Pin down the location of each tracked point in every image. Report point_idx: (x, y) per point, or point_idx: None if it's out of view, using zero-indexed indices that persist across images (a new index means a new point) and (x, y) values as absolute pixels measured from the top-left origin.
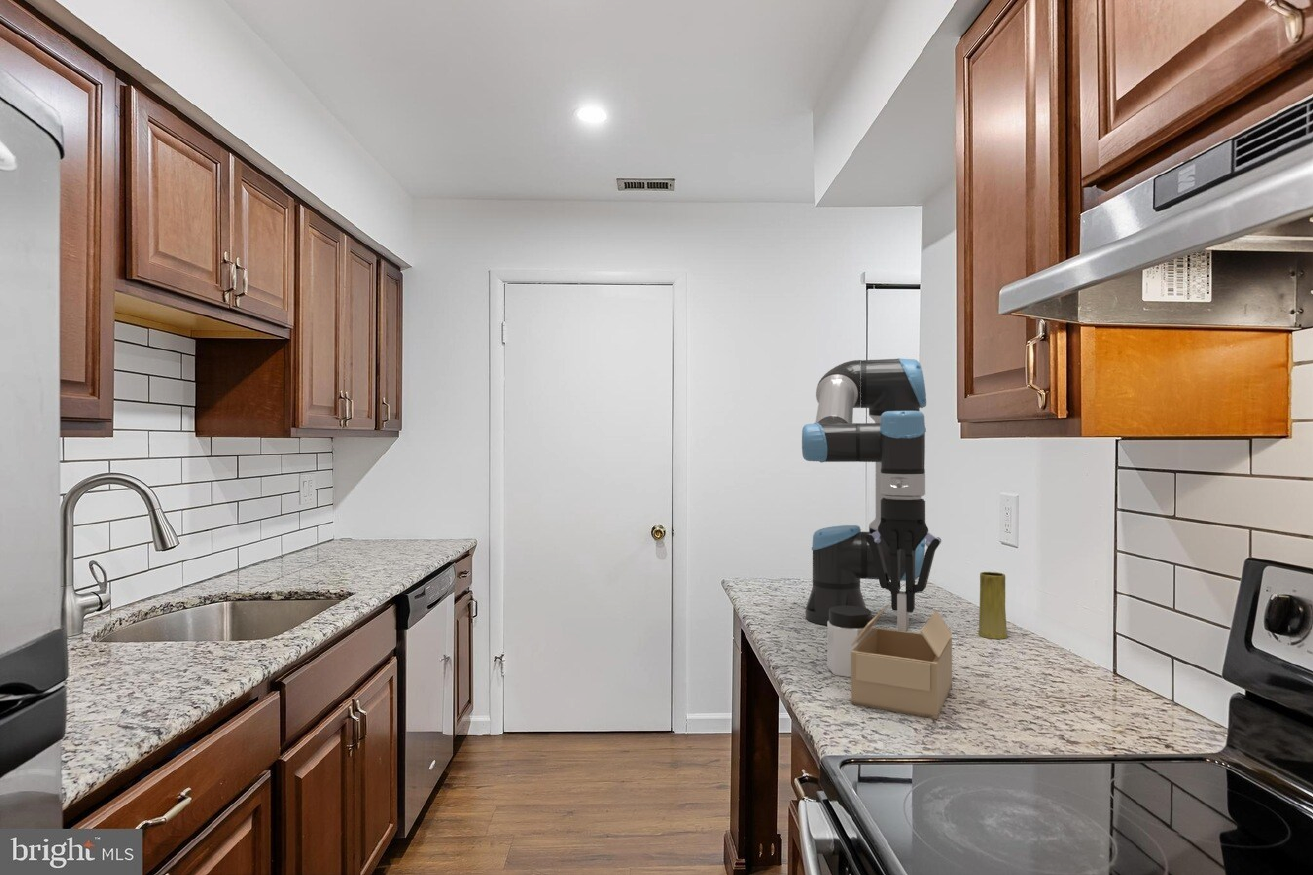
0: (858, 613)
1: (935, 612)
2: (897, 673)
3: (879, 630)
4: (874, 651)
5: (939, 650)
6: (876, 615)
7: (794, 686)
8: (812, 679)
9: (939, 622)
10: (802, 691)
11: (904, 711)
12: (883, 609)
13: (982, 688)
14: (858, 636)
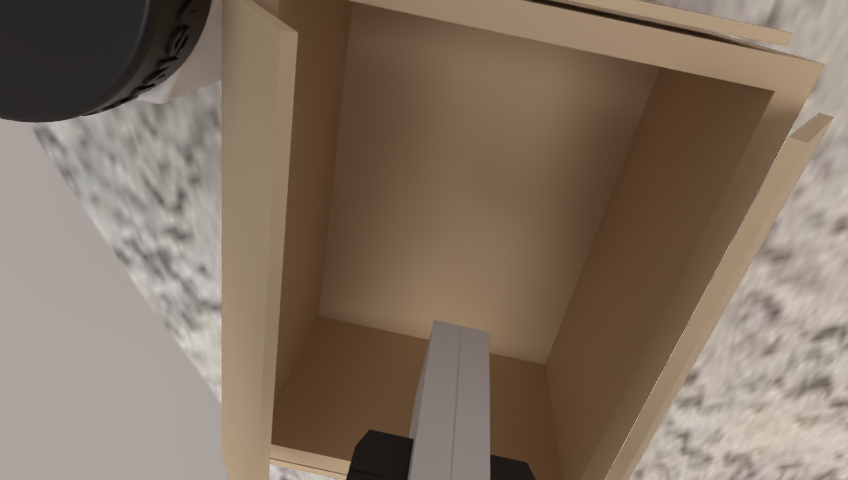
0: (74, 45)
1: (766, 218)
2: None
3: None
4: (312, 80)
5: None
6: (262, 419)
7: (98, 212)
8: (121, 120)
9: (740, 273)
10: (140, 251)
11: None
12: (277, 228)
13: (837, 20)
14: None
